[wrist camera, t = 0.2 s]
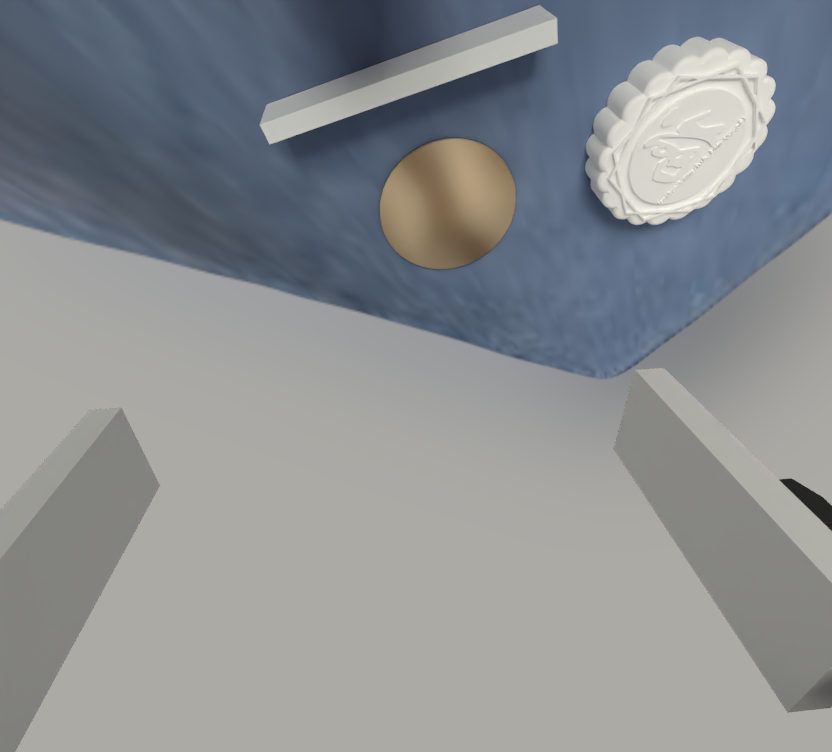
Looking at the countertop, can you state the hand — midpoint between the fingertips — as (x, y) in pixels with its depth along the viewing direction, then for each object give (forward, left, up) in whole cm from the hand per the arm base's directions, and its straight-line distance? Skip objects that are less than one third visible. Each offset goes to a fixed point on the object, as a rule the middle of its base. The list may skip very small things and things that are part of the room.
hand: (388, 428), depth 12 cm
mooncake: (-13, +18, -27) cm, 35 cm away
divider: (-3, +1, -27) cm, 27 cm away
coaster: (+2, +10, -27) cm, 29 cm away
